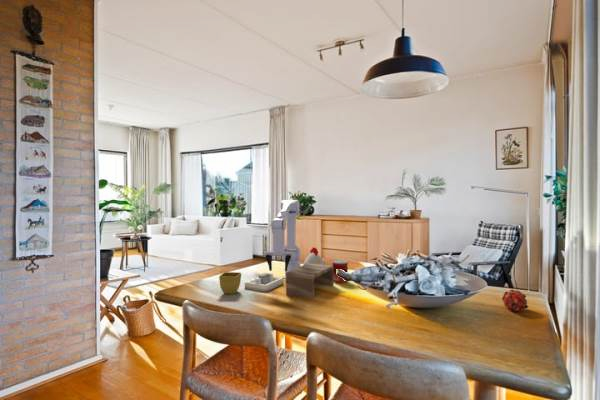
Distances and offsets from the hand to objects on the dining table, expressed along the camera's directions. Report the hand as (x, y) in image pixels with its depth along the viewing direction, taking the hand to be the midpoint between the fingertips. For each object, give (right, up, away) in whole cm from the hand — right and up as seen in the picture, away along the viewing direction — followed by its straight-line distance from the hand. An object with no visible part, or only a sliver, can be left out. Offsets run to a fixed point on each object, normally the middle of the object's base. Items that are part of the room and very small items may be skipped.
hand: (278, 270), depth 166 cm
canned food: (+32, -10, +16) cm, 37 cm away
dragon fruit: (+97, -10, -30) cm, 102 cm away
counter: (+16, -10, +1) cm, 19 cm away
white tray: (-8, -10, +10) cm, 16 cm away
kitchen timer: (+19, -9, +38) cm, 44 cm away
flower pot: (-23, -11, -1) cm, 25 cm away
